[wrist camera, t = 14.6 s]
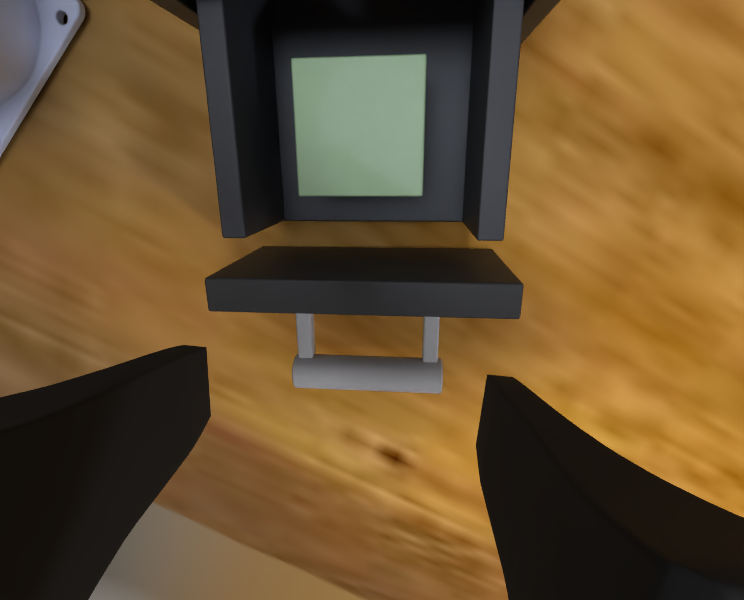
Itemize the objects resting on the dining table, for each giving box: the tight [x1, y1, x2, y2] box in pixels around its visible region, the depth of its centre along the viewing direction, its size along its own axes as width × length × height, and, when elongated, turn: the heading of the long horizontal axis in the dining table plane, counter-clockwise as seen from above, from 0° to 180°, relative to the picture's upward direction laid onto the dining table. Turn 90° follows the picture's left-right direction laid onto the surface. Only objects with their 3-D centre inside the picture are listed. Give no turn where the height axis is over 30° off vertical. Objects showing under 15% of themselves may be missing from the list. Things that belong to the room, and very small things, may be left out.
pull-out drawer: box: [196, 0, 524, 394], centre depth 16 cm, size 17×10×6 cm, turn 0°
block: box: [291, 54, 427, 196], centre depth 15 cm, size 4×4×4 cm
